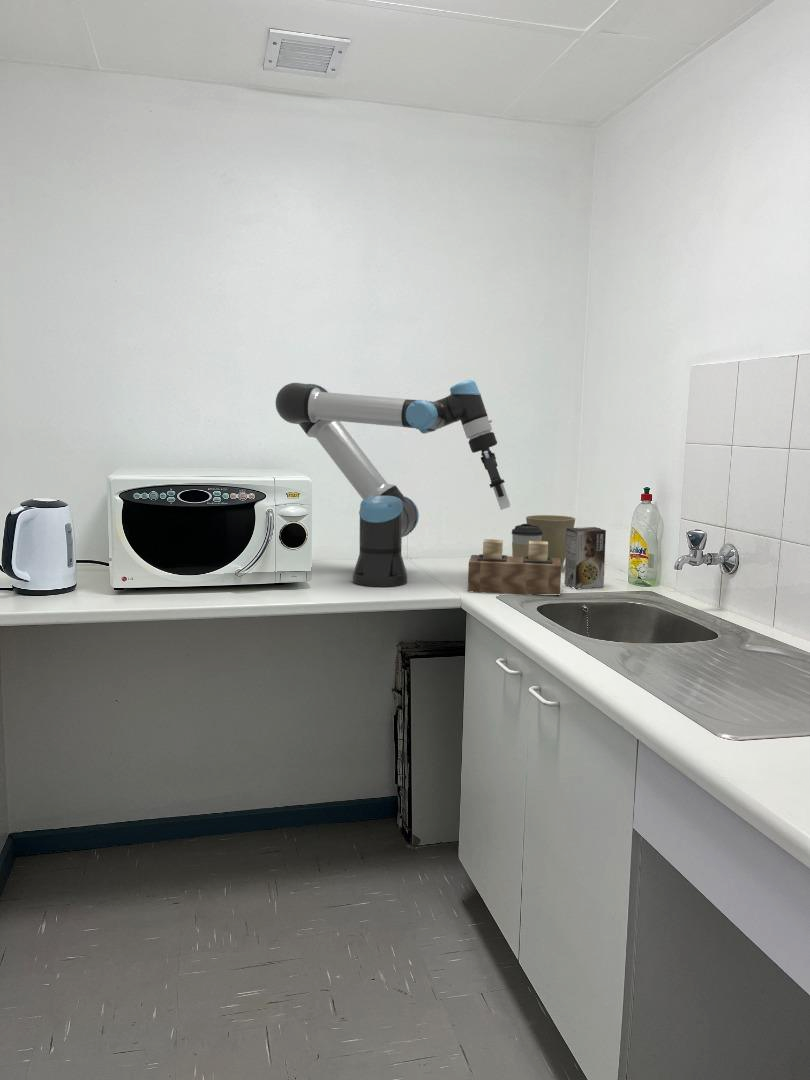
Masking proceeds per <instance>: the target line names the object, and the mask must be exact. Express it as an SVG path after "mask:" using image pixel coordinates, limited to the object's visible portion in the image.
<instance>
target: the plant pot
mask: <svg viewBox="0 0 810 1080" xmlns="http://www.w3.org/2000/svg"><path fill="white" fill-rule="evenodd" d="M525 519H526V520H525V521H526V524H530V525H532V526H538V527H539V528H540V530H542V531H543V532H542V534H543V535H542V539H541V541H545V542H548V557H552V558H560V562H561V568H562V567H563V565H564V564H565V558H566V533H567V528H575V523H576V518H575V517H572V516H567V515H554V514H553V515H549V514H547V515H546V514H543V515H542V514H535V515H534V514H533V515H528V516H526V517H525Z"/></svg>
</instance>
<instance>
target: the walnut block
mask: <svg viewBox="0 0 810 1080" xmlns="http://www.w3.org/2000/svg"><path fill="white" fill-rule="evenodd" d="M467 570H468V573H467V574H468V575H467V578H468V580H467V592H468V591H473V592H472V593H482V592H485V593H486V594H504V593H505V594H504V595H506V594H507V595H508V594H509V595H511V594H512V595H525V594H560V595H561V582H562V581H561V580H562V579H561V578H562V567H561V562H560V558H552V557H548V559H547V561H529V560H528V556H523V557H513V556H512V555H510V556H509V555H506V554H502V559H483V553H482V554H480V553H479V554H471V555H470V558H469V561H468V569H467Z"/></svg>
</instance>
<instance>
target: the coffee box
mask: <svg viewBox="0 0 810 1080" xmlns="http://www.w3.org/2000/svg"><path fill="white" fill-rule="evenodd" d="M606 532H607V529H604V528H600V527H596V526H592V527H591V526H590V527H589V526H585V527H574V528H567V533H566V558H565V560H564V583H563V584H565V585H564V586H566V585H568V586H567V587H569V586H571V587H574V588H583V589H593V588H592V587H598V588H604V586H605V583H604V582H605V564H606V563H605V562H606V561H605V560H606V559H605V558H606V534H607V533H606ZM571 587H570V588H571ZM574 588H573V589H574Z"/></svg>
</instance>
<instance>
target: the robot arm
mask: <svg viewBox="0 0 810 1080" xmlns="http://www.w3.org/2000/svg"><path fill="white" fill-rule="evenodd" d="M449 392H450V394H449V395H448V396H446V397H443V398H439V399H437V400H434V401H431V400H426V399H425V400H424V399H407V398H398V397H388V396H387V397H384V396H376V395H363V394H362V395H361V394H360V395H359V394H351V393H349V394H348V393H336V392H329V391H328V390H327V389H326V388H325V387H322V386H321V385H318V384H315V383H302V382H290V383H288V384H286V385H284V386H283V387H281V388H280V389H279V391H278V392H277V394H276V397H275V401H274V402H275V409H276V412H277V414H278V415H279V417H280V418H282V419H283V420H284V421H285V422H287V423H290V424H294V425H299V426H300V427H301V428H300V429H302V430H303V432H304V433H305V434H306V436H307V437H309V438H315V439H316V441H318V443H319V444H320V446H322V448H323V449H324V451H325V452H326V453H327V454H328V456H329V457H330V458H331V460H332V461H333V463H334V464H335V465H336V466H337V468H338V469H339V470H340V472H341V473H342V474H343V475H344V477H345V478H346V479H347V481H348V482H349V484H351V486H352V487H353V489H354V490H355V491H356V492H357V494H358V495H359V496H360V498H362V499H361V502H360V505H359V512H358V515H359V553H358V558H357V560H356V563H355V566H354V569H353V573H352V582H353V583H354V584H357V585H360V586H365V587H366V586H367V587H381V588H383V587H384V588H385V587H395V586H396V587H397V586H401V585H405V584H407V583H408V572H407V569H406V566H405V562H404V558H403V556H402V546H403V545H402V543H403V542H402V540H403V539H402V538H404V537H407V536H408V535H410V533H412V532H413V531H414V530H415V528H416V527H417V526H418V523H419V518H420V515H419V509H418V506H417V505H416V503H415V502H414V501H413V500H412V499H411V498H409V497H407V496H406V495H404V494H403V493H402V492H401V491H400V489H399V488H398V486H397V485H396V484H389V483H388V482H387V481H386V480H385V478H384V477H383V476H382V474H381V472H379V471H378V469H377V467H376V466H375V465H374V464H373V463H372V461H371V460H370V459H369V458H368V456H367V455H366V454H365V452H364V451H363V450H362V448H361V447H360V446H359V444H358V443H357V442H356V440H355V439H354V438H353V437H352V435H351V434H350V432H349V431H348V430H347V429H346V428H345V426H344V424H342V423H341V422H346V423H355V424H365V425H377V426H387V427H398V428H399V427H400V428H407V429H409V428H410V429H415V430H418V431H419V432H420V433H421V434H424V435H425V434H428V433H431V432H435V431H436V430H439V429H441V428H444V427H446V426H449V425H453V423H457V422H459V421H460V422H461V425H462V429H463V431H464V434H465V437H466V439H468V442H467V443H468V445H469V448H470V450H471V453H473V454H474V453H478V452H480V453H481V454H480V455H481V457H480V460H481V462H482V464H483V466H484V469H485V470H486V471H487V473H488V476H489V480H490V484H489V487H490V488H491V489H493V491H494V494H495V497H496V501H497V504H498V506H499V509H500V511H503V510H505V509H508V508H511V503H510V499H509V497H508V493H507V492H506V489H505V486H504V483H505V479H502V478H501V476H500V473H499V470H498V468H497V467H498V462H497V457H496V454H495V452H492V451H491V449H490V448H492V447H495V446H496V445H497V444H498V440H497V438H496V435H495V433H494V431H492V430H493V428H492V424H491V423H492V422H493V421H492V418H489V416H488V415H489V414H488V413H487V410H486V407H485V404H484V401H483V397H482V395H481V392H480V390H479V388H478V386H477V382H476V381H475V380H473V379H467V380H463V381H461V382H458V383H456V384H455V385H452V386H451V387H450V389H449Z"/></svg>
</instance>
